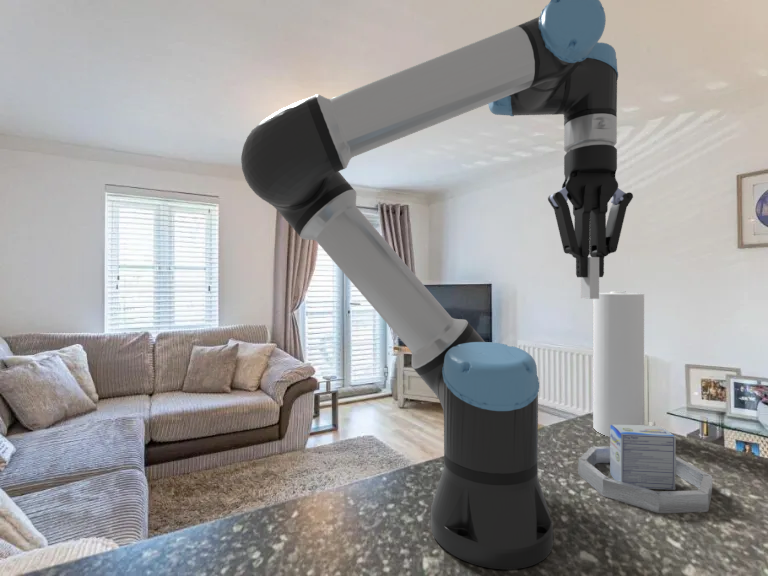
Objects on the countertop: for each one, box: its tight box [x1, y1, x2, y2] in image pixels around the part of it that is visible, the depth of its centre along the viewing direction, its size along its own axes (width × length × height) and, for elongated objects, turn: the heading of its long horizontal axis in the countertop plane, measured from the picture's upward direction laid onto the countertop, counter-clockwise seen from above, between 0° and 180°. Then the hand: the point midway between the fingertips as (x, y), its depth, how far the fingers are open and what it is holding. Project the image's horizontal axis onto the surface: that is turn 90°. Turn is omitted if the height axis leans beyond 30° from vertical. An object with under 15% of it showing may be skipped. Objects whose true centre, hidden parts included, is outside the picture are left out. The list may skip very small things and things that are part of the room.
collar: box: [577, 445, 713, 514], centre depth 66 cm, size 17×17×2 cm
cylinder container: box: [592, 290, 645, 438], centre depth 88 cm, size 9×9×30 cm
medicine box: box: [609, 424, 677, 491], centre depth 66 cm, size 8×4×9 cm, turn 83°
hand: (589, 298), depth 66 cm, fingers closed
